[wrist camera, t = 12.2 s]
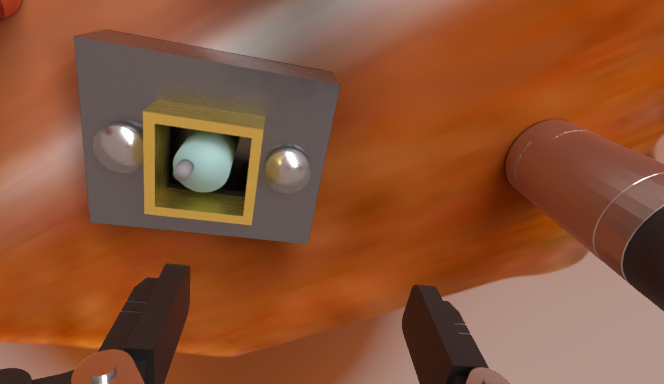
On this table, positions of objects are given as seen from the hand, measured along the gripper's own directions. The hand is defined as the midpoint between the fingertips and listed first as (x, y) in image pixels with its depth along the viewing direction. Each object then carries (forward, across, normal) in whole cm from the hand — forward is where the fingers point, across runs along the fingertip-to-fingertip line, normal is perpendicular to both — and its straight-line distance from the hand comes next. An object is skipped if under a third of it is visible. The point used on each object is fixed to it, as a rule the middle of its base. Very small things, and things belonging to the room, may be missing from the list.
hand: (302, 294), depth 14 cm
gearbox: (+27, +7, +4) cm, 28 cm away
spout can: (+26, +8, +4) cm, 28 cm away
